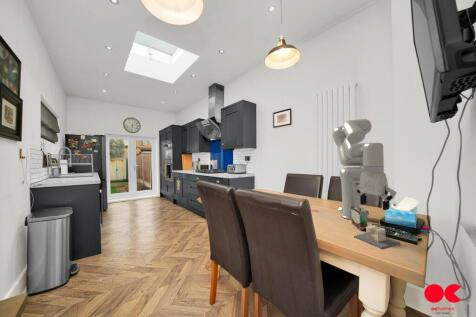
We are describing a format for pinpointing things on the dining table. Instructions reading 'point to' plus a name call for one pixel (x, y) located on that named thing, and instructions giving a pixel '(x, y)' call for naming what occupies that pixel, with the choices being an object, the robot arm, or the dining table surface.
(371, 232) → the birch cube
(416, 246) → the dining table surface
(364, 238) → the charcoal mat
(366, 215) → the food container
